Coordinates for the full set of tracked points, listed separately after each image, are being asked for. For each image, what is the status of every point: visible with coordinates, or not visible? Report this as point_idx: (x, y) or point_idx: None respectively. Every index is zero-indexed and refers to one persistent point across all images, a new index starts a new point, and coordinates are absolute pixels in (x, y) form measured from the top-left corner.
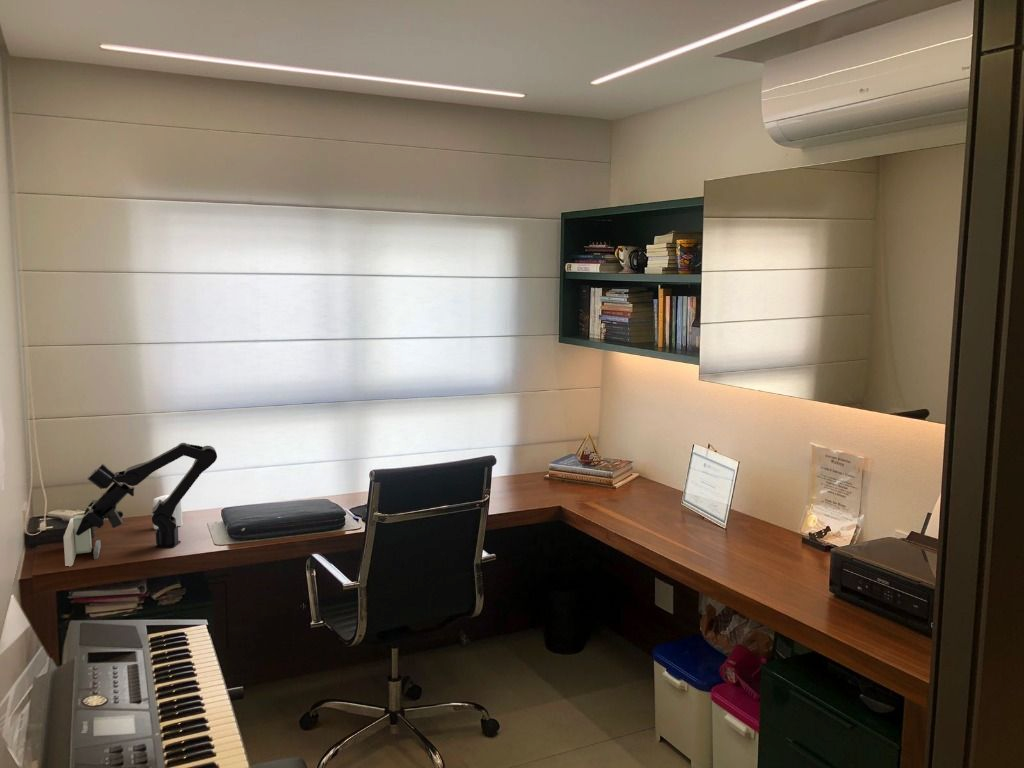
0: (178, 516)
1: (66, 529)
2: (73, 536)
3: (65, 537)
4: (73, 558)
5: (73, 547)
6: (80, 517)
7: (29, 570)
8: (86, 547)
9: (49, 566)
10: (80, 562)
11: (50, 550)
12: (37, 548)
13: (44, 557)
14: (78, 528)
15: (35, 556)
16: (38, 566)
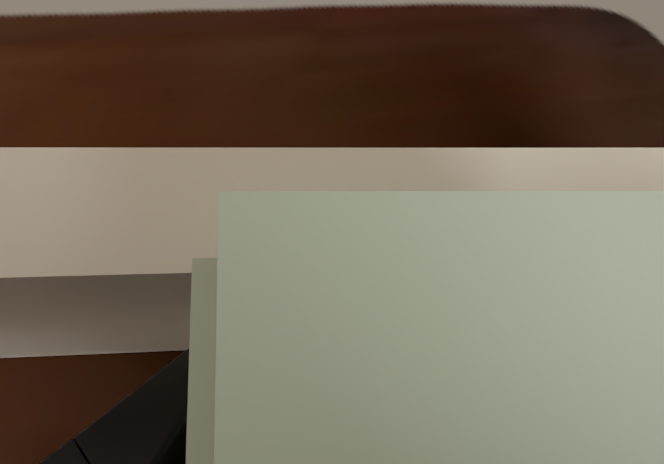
0: None
1: (187, 149)
2: (184, 306)
3: None
4: (80, 350)
5: (118, 333)
6: (344, 444)
7: (8, 27)
8: None
9: None
10: (29, 429)
11: (544, 118)
12: (619, 29)
13: (351, 95)
14: (136, 393)
15: (403, 34)
16: (94, 77)
